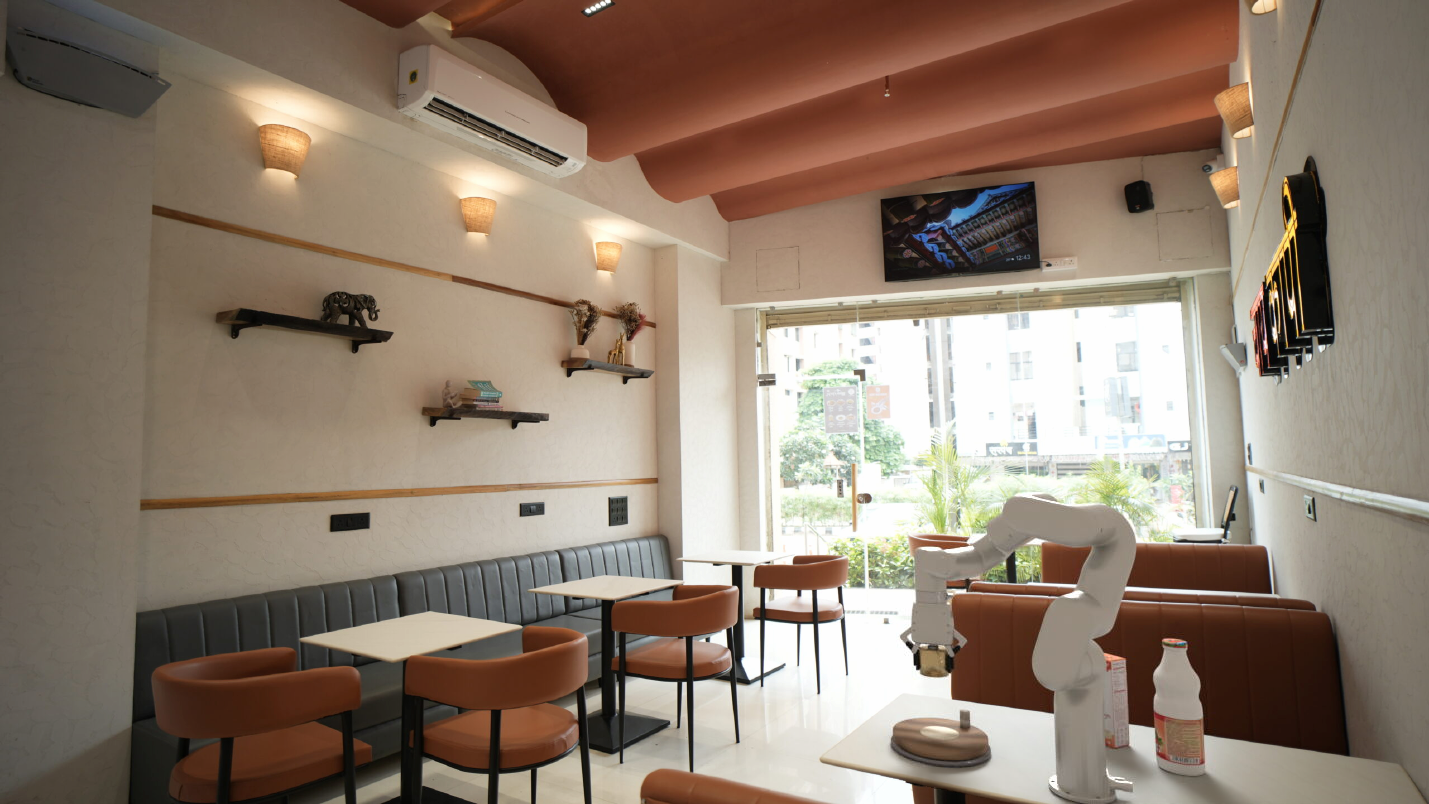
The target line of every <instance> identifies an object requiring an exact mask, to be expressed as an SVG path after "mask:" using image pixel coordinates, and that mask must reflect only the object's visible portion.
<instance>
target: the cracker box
mask: <svg viewBox="0 0 1429 804" xmlns="http://www.w3.org/2000/svg"><path fill="white" fill-rule="evenodd" d="M1103 653H1104V655H1105V659H1106V667H1107V669H1106V680H1105V689H1104V723H1105V747H1109V748H1111V749H1119V748H1122V747H1126V746H1129V745H1130V723H1129V719H1130V718H1129V702H1128V701H1129V700H1128V698H1129V697H1128V695H1129V694H1128V680H1127V679H1128V678H1127V675H1128V674H1127V659H1126V658H1124V657H1121V656H1117V655H1113V654H1110V653H1106V652H1103Z"/></svg>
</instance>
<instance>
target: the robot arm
mask: <svg viewBox="0 0 1429 804" xmlns="http://www.w3.org/2000/svg"><path fill="white" fill-rule="evenodd" d="M985 531H986V534H985V535H984V536H982V537H981V538H980V539H978V540H976V541H975V542H972V544H970V545H968V546H963V547H955V548H950V549H943V548H941V547H938V546H937V547H936V546H920V547H917V548H915V550H914V551H913V554H914V555H913V561H914V562H913V563H914V564H913V566H914V586H915V587H914V589H915V590H914V591H915V592H914V593H915V600H914V601H913V603H912V609H911V619H910V621H911V624H910V625H911V626H909V627H908V628H907V629H906V630H905V631H904V632H902V633H901V634H900V635H899V638H900V640H901V641H902V642H903V643H904V644H905V646H906V647H907V648H908V649H909V651H910V652H911V653H912V658H913V666H914V667H915V671H919V647H921V645H938V646H941V647H945V648H946V650H947V652H948V656H947V667H948V673H949V675H950V674H952V672H953V670H955V668H956V665H955V655H956V654H957V653H959V652H960V650H961V649H962V648H963V647H964V646H965V645H966V644H967V643H968V640H967V638H966V637H964V636H963V635H962V634H961V633H960V632H959V631H957V630H956V629H955V624H954V623H955V622H954V621H955V620H954V614H953V609H952V605H951V603H950V602H948V601H949V600H953V599H954V595H953V594H954V593H950V592H949V591H948V590H947V582H956V581H960V580H965V579H972V578H976V577H979V576H982V575H983V574H986V573H987V572H989V571H990V570H993V569H994V568H996V567H997V566H999V565H1001V564H1002V563H1003V562H1005V561H1006V560H1007V559H1008V558H1009V557H1010V556H1011V554H1012V553H1014V552H1015V551H1016V550H1019V549H1021V547H1024V546H1025V545H1027V544H1028V543H1030V542H1032V541H1034V540H1035V539H1038V540H1042V541H1045V542H1048V543H1051V544H1055V545H1059V546H1064V547H1069V548H1074V549H1075V548H1086V547H1090V546H1091V549H1090V553H1089V555H1088V556H1087V558H1086V560H1084V561H1085V562H1084V563H1083V565H1082V568H1081V570H1080V575H1079V578H1078V581H1077V584H1076V586H1075V587H1074V590H1073V591H1072V592H1070V593H1066V594H1062V595H1060V596H1058V597H1056V598H1055V599H1054V600H1053V601H1052V602H1051V603H1050V604H1049V606H1048V608H1047V610H1046V611H1045V613H1044V617H1043V620H1042V623H1041V626H1040V629H1039V633H1038V635H1037V639H1036V642H1035V646H1034V648H1033V652H1032V657H1031V666H1032V667H1031V668H1032V670H1033V674H1034V676H1035V678H1036V680H1037V681H1038V682H1039V684H1040V685H1041V686H1043V687H1044V688H1045V689H1048V690H1050V691H1052V692H1054V695H1053V716H1054V718H1053V719H1054V720H1053V721H1054V745H1055V746H1054V747H1055V775H1052V776H1050V777H1049V778H1048V787H1049V789H1050V790H1051V792H1053V794H1055V795H1056V796H1059V797H1061V798H1063V799H1065V800H1068V801H1072V802H1075V803H1079V804H1110V803H1113V802H1114V801H1115V800H1116V799H1117V798H1116V797H1117V791H1122V792H1126V793H1132V794H1133V792H1134V788H1133V787H1134V785H1133V781H1126V780H1125V778H1124V777H1119V776H1112V774H1109V771H1108V770H1109V769H1108V768H1107V753H1106V752H1107V751H1106V747H1107V746H1106V745H1105V723H1104V689H1105V680H1106V669H1107V667H1106V659H1105V655H1104V653H1105V652H1104V651H1103V649H1102V647H1101V646H1100V645H1099V644H1098V643H1097V642H1096V641H1095V640H1094V639H1098V638H1101V637H1103V636H1105V635H1106V634H1108V633H1110V632H1111V630H1112V629H1113V628H1114V625H1115V622H1116V620H1117V617H1118V613H1119V610H1120V607H1121V603H1122V601H1123V598H1124V595H1125V591H1126V589H1127V588H1126V587H1127V584H1128V580H1129V578H1130V575H1131V571H1132V569H1133V567H1134V563H1135V559H1136V553H1137V539H1136V534H1135V532H1134V529H1133V527H1132V526H1131V523H1130V522H1129V521H1128V519H1127V518H1126V517H1125V516H1124V515H1123V514H1122V513H1121V512H1120V511H1118V510H1117V509H1116V508H1113V507H1112V506H1110V505H1106V504H1101V503H1086V504H1077V505H1076V504H1075V505H1073V504H1065V503H1062V502H1061V503H1060V502H1059V501H1058V499H1057V498H1056V497H1055V496H1053V495H1051V494H1050V493H1046V492H1043V491H1042V492H1039V491H1037V492H1036V491H1035V492H1021V493H1016V494H1014V495H1012V496H1010V497H1009V498H1008V499H1007V500H1006V502H1005V503H1004V504H1003V507H1002V512H1000V513H999V514H998V515H996V516H995V517H993V518H991V519H990V520H988V522H986V526H985ZM910 635H911V636H910ZM909 636H910V638H911V640H910V639H909V638H908V637H909ZM955 639H956V640H958V643H957V644H956V645H955V646H953V643H954V641H955Z"/></svg>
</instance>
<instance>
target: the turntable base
mask: <svg viewBox="0 0 1429 804" xmlns="http://www.w3.org/2000/svg"><path fill="white" fill-rule="evenodd" d="M988 745H989V743H988ZM890 746H891V748H892V749H893V751H894V752H895V753H896V754H898V755H900V756H901V757H903V758H905V759H907V760H910V761H912V762H916V763H919V764H923V765H925V766H926V765H927V766H932V767H937V768H938V767H939V768H950V769H951V768H955V769H956V768H959V769H960V768H969V767H976V766H979V765H982V764H984V763H987V761H989V760H990V759H991V756H992V748H991V745H989V748H988V751H987V753H985V754H984V755H982V756H980V757H977V758H973V759H967V760H940V759H933V758H927V757H923V756H919V755H916V754H913V753H910V752H908V751H905V750H903V749H902V748H900V747H899V746H897V745H896V744H895V742H894V741H893V734H892V735H891V738H890Z"/></svg>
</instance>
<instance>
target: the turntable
mask: <svg viewBox="0 0 1429 804" xmlns="http://www.w3.org/2000/svg"><path fill="white" fill-rule="evenodd" d="M892 735H893V741H894V742H895V744H896V745H897V746H899V747H900V748H902V749H903V750H905V751H908V752H910V753H913V754H916V755H919V756H923V757H927V758H933V759H940V760H967V759H973V758H977V757H980V756H982V755H984V754H985V753H987V751H988V748H989V746H990V745H988V744H989V737H988V735H987V733H985V731H983V730H982V729H981V728H978V727H977V726H974V725H972V724H971V711H970V710H969V709H963V708H961V709H959V720H954V719H949V718H941V717H914V718H908V719H904V720H901V721H899V722H897V723H896V724H894V726H893V727H892Z"/></svg>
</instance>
